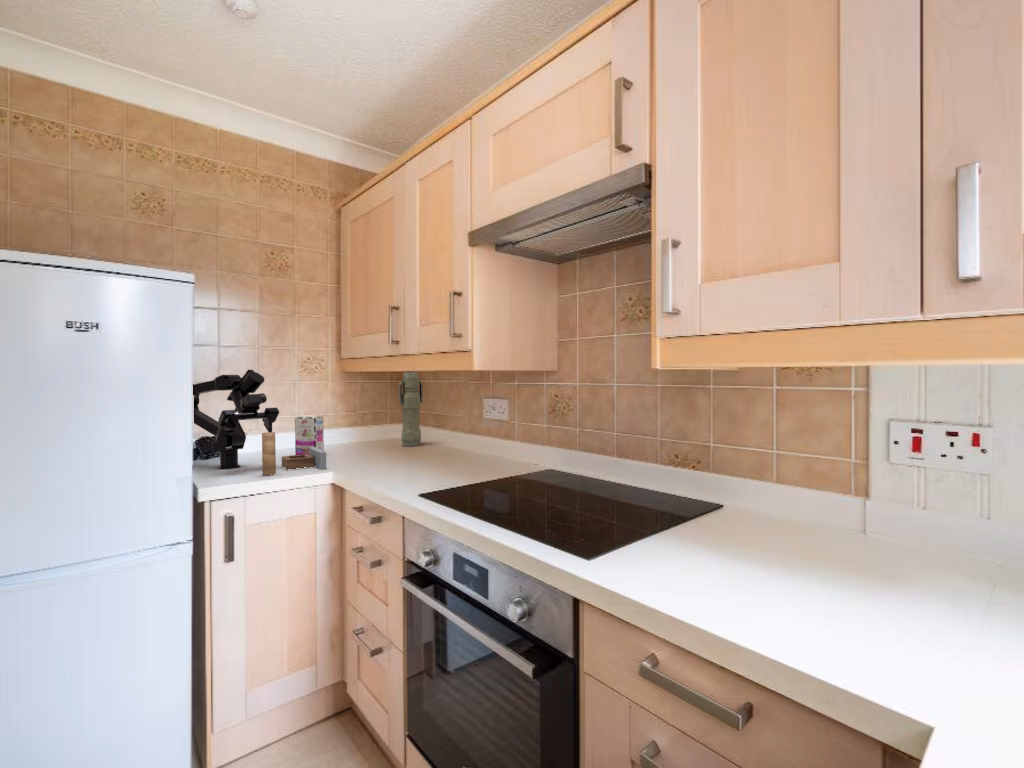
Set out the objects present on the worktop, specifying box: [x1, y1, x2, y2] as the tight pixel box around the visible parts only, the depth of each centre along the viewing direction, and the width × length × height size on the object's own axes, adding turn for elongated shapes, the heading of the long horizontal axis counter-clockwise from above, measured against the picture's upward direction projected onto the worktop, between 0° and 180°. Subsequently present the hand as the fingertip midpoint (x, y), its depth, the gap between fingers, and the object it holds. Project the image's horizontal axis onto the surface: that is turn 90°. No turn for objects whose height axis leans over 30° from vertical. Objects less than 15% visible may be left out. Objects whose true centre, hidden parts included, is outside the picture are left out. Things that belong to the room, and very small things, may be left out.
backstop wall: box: [309, 447, 327, 470], centre depth 178 cm, size 16×2×6 cm, turn 36°
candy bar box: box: [294, 415, 325, 455], centre depth 202 cm, size 11×5×16 cm, turn 68°
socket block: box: [281, 454, 315, 470], centre depth 177 cm, size 9×9×4 cm
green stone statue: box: [397, 371, 424, 448], centre depth 230 cm, size 9×12×35 cm
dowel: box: [261, 431, 277, 476], centre depth 163 cm, size 4×4×14 cm
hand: (257, 434), depth 168 cm, fingers open, 9 cm apart
